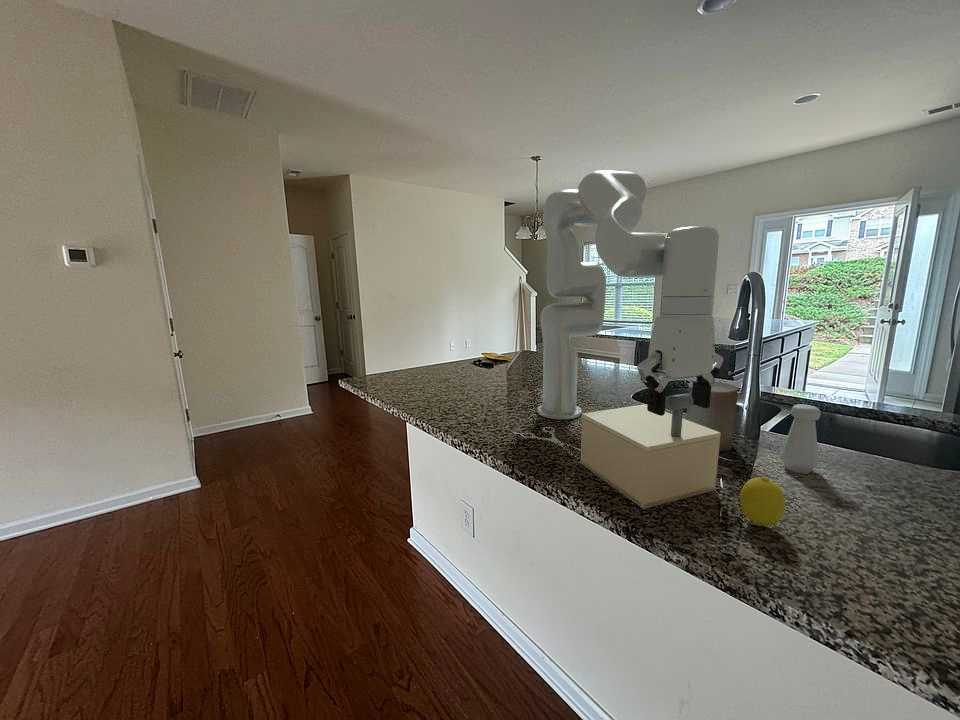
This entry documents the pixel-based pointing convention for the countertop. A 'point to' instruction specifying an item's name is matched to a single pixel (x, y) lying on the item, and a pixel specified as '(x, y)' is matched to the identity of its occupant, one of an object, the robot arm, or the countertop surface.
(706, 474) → the carton
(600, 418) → the carton flap
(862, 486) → the countertop surface
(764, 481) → the lemon
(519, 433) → the scissors
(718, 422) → the pillar candle
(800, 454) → the salt shaker
